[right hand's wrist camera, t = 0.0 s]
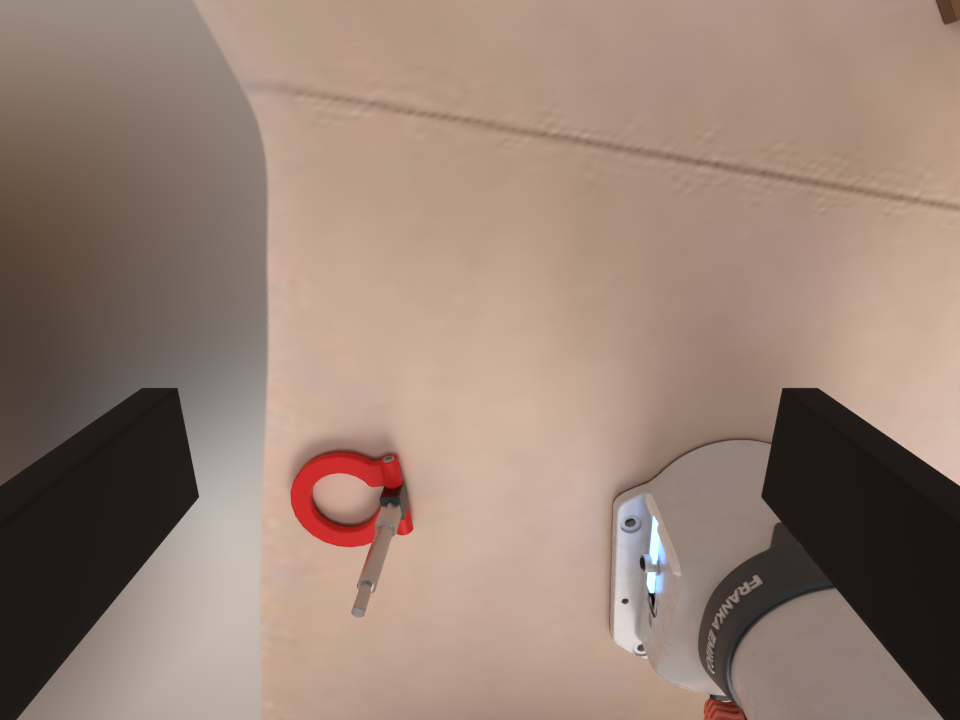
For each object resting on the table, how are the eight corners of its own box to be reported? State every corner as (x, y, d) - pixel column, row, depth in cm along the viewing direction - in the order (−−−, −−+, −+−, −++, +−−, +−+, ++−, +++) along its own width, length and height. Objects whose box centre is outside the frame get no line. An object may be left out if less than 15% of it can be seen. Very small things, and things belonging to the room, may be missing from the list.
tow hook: (310, 542, 47) (417, 532, 46) (241, 676, 35) (385, 665, 34) (283, 455, 45) (397, 442, 44) (199, 567, 32) (355, 553, 32)
